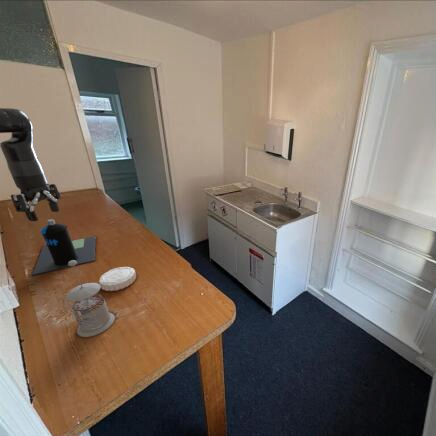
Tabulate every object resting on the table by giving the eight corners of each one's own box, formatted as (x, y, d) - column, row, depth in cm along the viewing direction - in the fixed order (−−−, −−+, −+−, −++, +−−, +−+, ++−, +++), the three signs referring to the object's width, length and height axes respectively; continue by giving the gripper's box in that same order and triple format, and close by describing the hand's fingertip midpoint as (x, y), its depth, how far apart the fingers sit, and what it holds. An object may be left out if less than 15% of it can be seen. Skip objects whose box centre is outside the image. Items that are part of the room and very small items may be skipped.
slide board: (32, 275, 95) (32, 274, 95) (43, 246, 113) (43, 246, 113) (94, 260, 106) (94, 260, 106) (95, 236, 125) (95, 236, 125)
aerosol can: (72, 253, 110) (58, 214, 101) (82, 258, 106) (67, 219, 98) (50, 261, 103) (32, 221, 94) (59, 267, 100) (42, 226, 91)
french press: (102, 336, 72) (77, 271, 62) (62, 337, 71) (29, 271, 61) (121, 312, 81) (101, 251, 71) (85, 312, 80) (60, 251, 70)
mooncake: (110, 295, 88) (108, 288, 86) (94, 284, 93) (92, 276, 91) (142, 278, 97) (140, 271, 96) (126, 268, 102) (124, 262, 101)
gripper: (35, 167, 85) (51, 208, 92) (-8, 177, 72) (14, 224, 79) (57, 168, 86) (71, 209, 92) (18, 178, 73) (38, 224, 79)
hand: (45, 215), depth 86 cm, fingers open, 8 cm apart
